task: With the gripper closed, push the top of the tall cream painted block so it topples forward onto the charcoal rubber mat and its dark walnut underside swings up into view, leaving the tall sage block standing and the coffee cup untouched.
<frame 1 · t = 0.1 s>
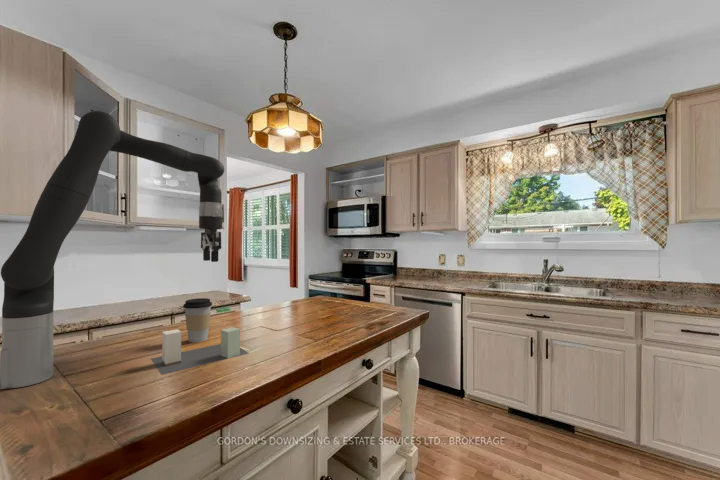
hand: (210, 261, 113), 29 cm above the table, fingers open, 8 cm apart
mat: (201, 357, 98), on the table
coffee cup: (197, 342, 114), on the table
sage block: (230, 355, 99), point 1 cm above the table, touching mat
cream block: (171, 362, 93), point 1 cm above the table, touching mat
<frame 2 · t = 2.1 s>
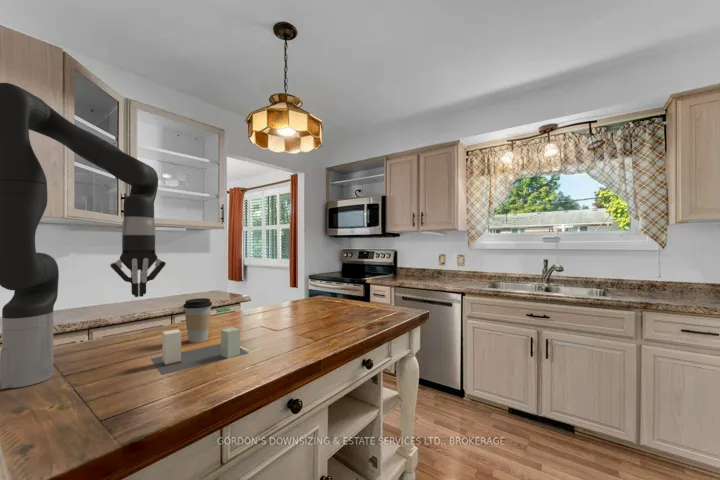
hand: (138, 296, 88), 21 cm above the table, fingers closed
nothing on the table moved.
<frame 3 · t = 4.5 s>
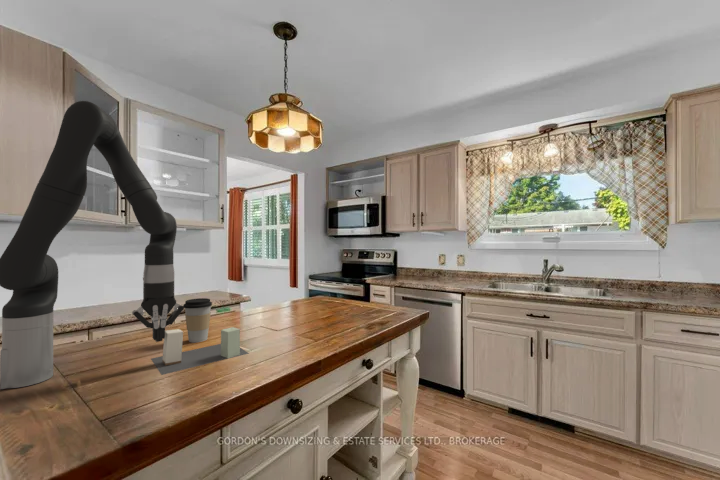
hand: (158, 340, 91), 8 cm above the table, fingers closed
cream block: (171, 362, 93), point 1 cm above the table, touching gripper, mat
everything else where it was.
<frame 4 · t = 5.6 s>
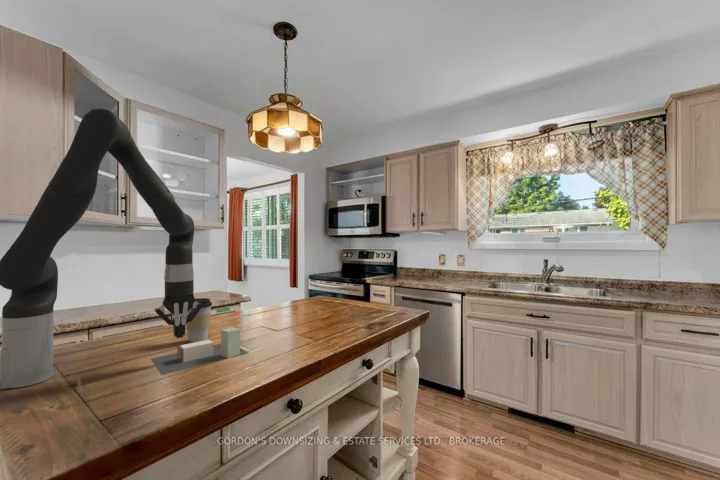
hand: (179, 337, 94), 8 cm above the table, fingers closed
cream block: (179, 354, 94), point 3 cm above the table, tilted 90°, touching mat
everything else where it was.
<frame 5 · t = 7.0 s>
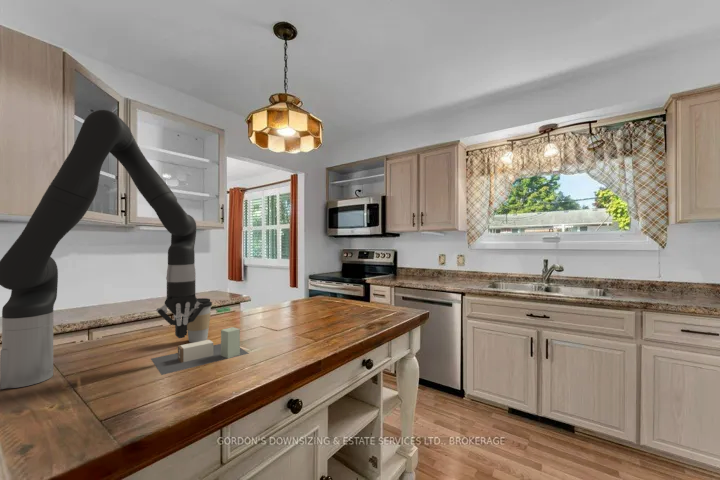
hand: (181, 337, 95), 8 cm above the table, fingers closed
nothing on the table moved.
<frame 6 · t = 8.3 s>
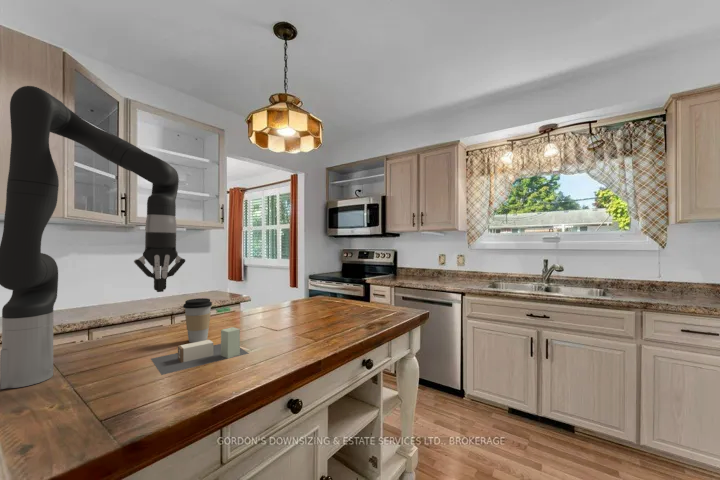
hand: (160, 291, 91), 22 cm above the table, fingers closed
nothing on the table moved.
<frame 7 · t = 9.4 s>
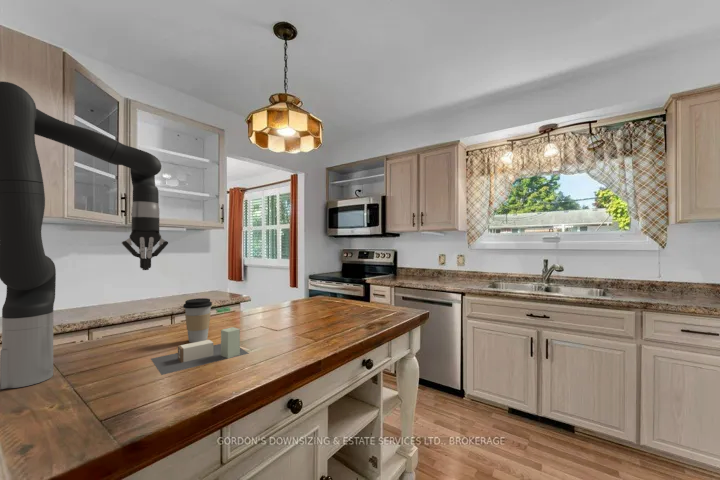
hand: (145, 269, 103), 27 cm above the table, fingers closed
nothing on the table moved.
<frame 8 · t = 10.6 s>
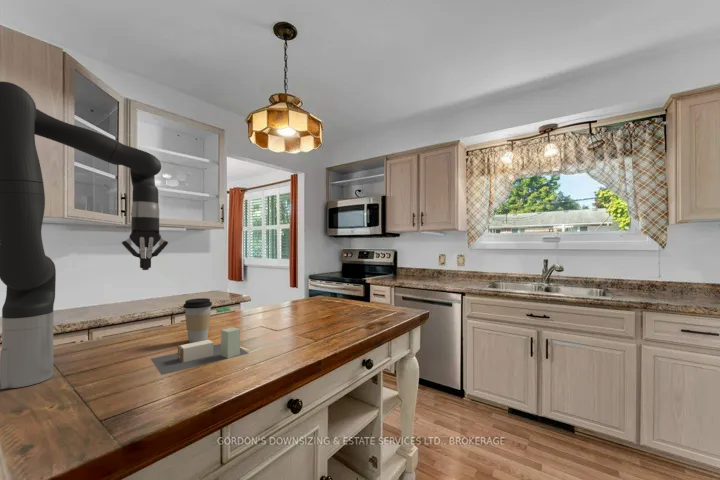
hand: (145, 269, 103), 27 cm above the table, fingers closed
nothing on the table moved.
at the end: cream block tilted 90°; cream block inside the target area (4.0 cm from its centre), point 2.6 cm above the table; sage block moved 0.0 cm from its start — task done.
